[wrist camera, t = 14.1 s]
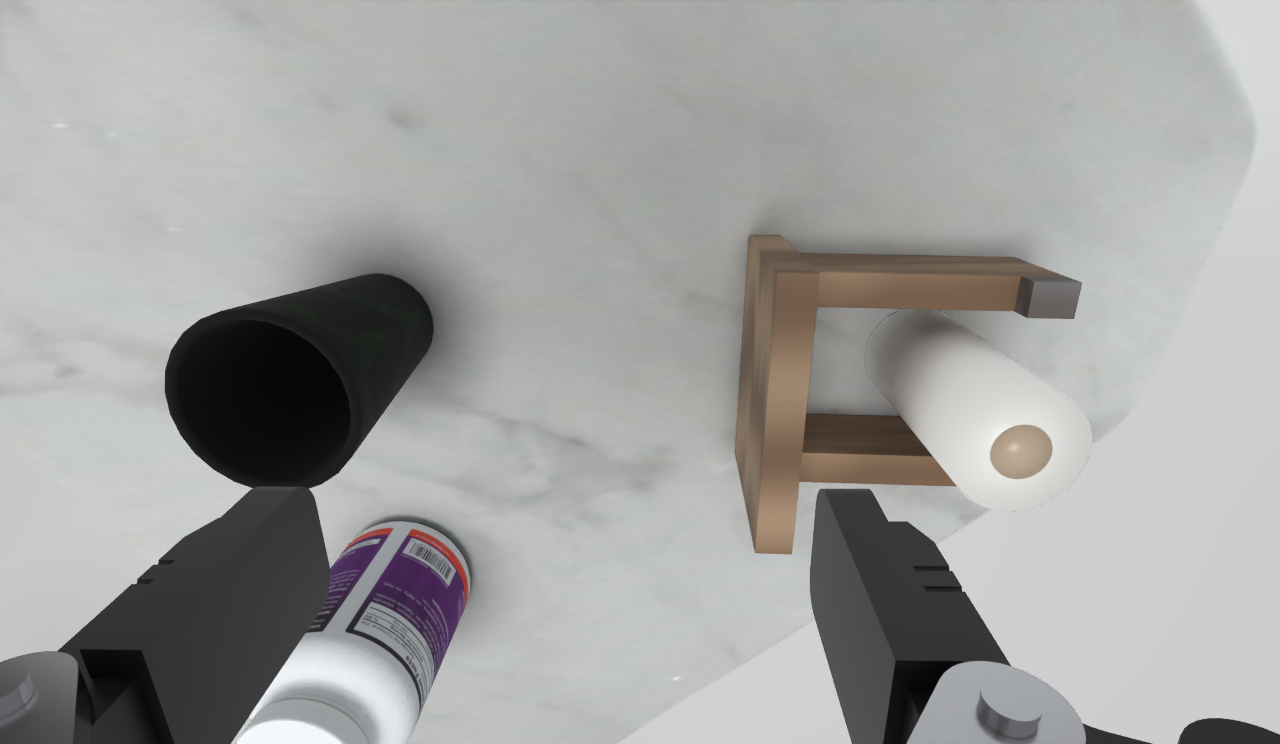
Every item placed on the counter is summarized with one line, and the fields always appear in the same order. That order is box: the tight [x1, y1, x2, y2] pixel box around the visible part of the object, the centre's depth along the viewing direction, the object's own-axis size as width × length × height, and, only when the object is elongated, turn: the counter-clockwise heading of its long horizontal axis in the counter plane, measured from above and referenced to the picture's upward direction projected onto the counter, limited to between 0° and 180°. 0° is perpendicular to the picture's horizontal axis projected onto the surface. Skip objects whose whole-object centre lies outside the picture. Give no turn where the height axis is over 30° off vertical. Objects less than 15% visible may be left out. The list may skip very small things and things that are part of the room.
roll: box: [865, 309, 1092, 512], centre depth 31 cm, size 5×5×12 cm
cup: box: [165, 274, 433, 489], centre depth 32 cm, size 8×8×12 cm
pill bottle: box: [236, 521, 470, 744], centre depth 36 cm, size 8×8×14 cm
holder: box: [735, 235, 1082, 554], centre depth 33 cm, size 12×14×10 cm
